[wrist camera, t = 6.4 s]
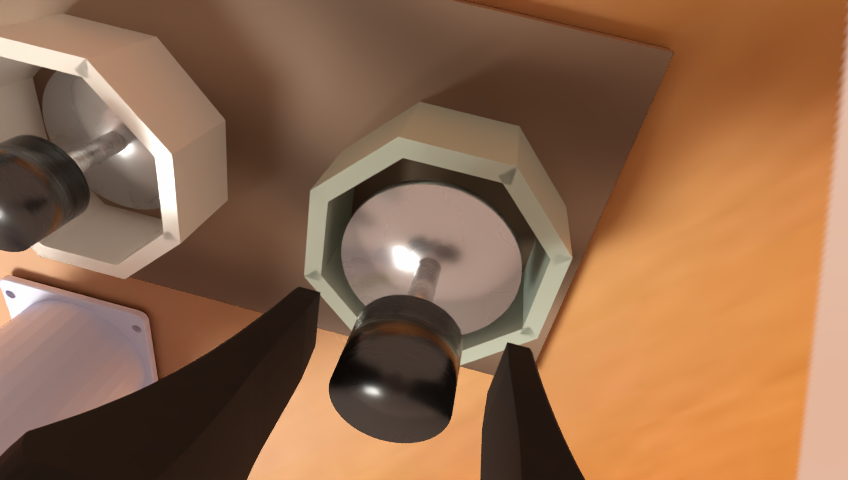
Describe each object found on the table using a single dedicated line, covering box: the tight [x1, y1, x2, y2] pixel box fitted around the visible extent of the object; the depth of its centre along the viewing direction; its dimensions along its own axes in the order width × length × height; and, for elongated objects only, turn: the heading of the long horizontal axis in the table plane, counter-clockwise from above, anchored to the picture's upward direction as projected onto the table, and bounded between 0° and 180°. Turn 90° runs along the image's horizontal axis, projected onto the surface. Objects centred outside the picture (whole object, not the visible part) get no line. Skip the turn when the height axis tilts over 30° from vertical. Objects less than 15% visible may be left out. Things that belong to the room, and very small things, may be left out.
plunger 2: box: [329, 179, 522, 443], centre depth 15 cm, size 6×6×6 cm
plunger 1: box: [0, 71, 161, 252], centre depth 18 cm, size 6×6×6 cm
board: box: [0, 0, 674, 375], centre depth 20 cm, size 15×24×1 cm, turn 79°
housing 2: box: [304, 102, 573, 365], centre depth 18 cm, size 8×8×3 cm
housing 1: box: [0, 14, 228, 279], centre depth 19 cm, size 8×8×3 cm
